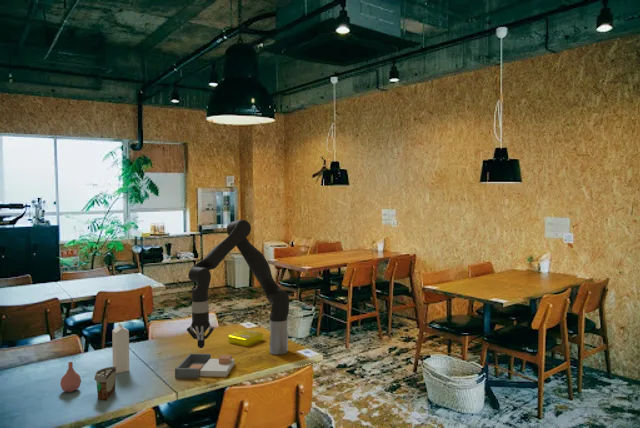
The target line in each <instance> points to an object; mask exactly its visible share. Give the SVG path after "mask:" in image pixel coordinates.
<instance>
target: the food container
mask: <svg viewBox="0 0 640 428" xmlns="http://www.w3.org/2000/svg"><path fill="white" fill-rule="evenodd" d="M116 374H117V373H116V367H113V366H109V367H105V368H101V369H99V370H97V371H96V372H95V375H94V379H93V380H94V381H95V382H96V392H97V399H98V400H100V401H108V400H109V399H110V398H111V397H112V396H113V394H114V393H115V392H116V376H117V375H116Z"/></svg>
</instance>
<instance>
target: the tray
mask: <svg viewBox="0 0 640 428" xmlns="http://www.w3.org/2000/svg"><path fill="white" fill-rule="evenodd" d="M211 356H212V355H211V353H191V352H190V353H189V354H188V355H187V356H186V357H185V358H184V359H183V360H182V361H181V362H180V363H179V364H178V365H177V366H176V367H175V369H174V378H175V379H177V378H178V379H199V377H201V376H200V374H199V369H195V368H190V367H191V365H192V364H201V365H203V367H204V365H205V364H206V363H207V362H208V360H209V359H212V357H211Z"/></svg>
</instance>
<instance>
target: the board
mask: <svg viewBox="0 0 640 428" xmlns="http://www.w3.org/2000/svg"><path fill="white" fill-rule="evenodd" d="M234 366H235V358H232V360H231V362H230V363H229V364H219V358H211V359H209V360H208V362H207V363H206V364H205V365H204V367H203V368H202V369H201V370H200V376H199V377H223V378H224V377H225V378H227V377H228V375H229V374H230V372H231V370H232V368H233V367H234Z"/></svg>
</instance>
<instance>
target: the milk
mask: <svg viewBox="0 0 640 428" xmlns="http://www.w3.org/2000/svg"><path fill="white" fill-rule="evenodd" d="M111 332H112V333H111V334H112V338H111V339H112V341H111V343H112V344H111V345H112V347H111V348H112V367H116V374H120V373H124V372H129V371H130V334H129V333H130V331H129V329H127V328H126V327H124V326H123V324H122V323H120V322H118V325H117V326H116V327H115V328H113V329H112V331H111Z"/></svg>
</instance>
